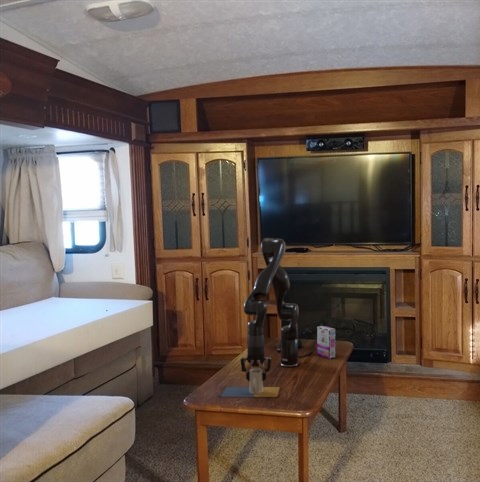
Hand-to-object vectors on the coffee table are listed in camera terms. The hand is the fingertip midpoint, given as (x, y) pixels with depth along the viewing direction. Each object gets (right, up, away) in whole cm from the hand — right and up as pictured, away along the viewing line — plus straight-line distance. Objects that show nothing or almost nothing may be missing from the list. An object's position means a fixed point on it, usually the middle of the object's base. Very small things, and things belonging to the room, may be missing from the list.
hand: (256, 380), depth 197 cm
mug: (0, -5, -1) cm, 5 cm away
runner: (-2, -5, 0) cm, 6 cm away
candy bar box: (+32, -3, +53) cm, 62 cm away
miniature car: (+11, -3, +66) cm, 67 cm away
